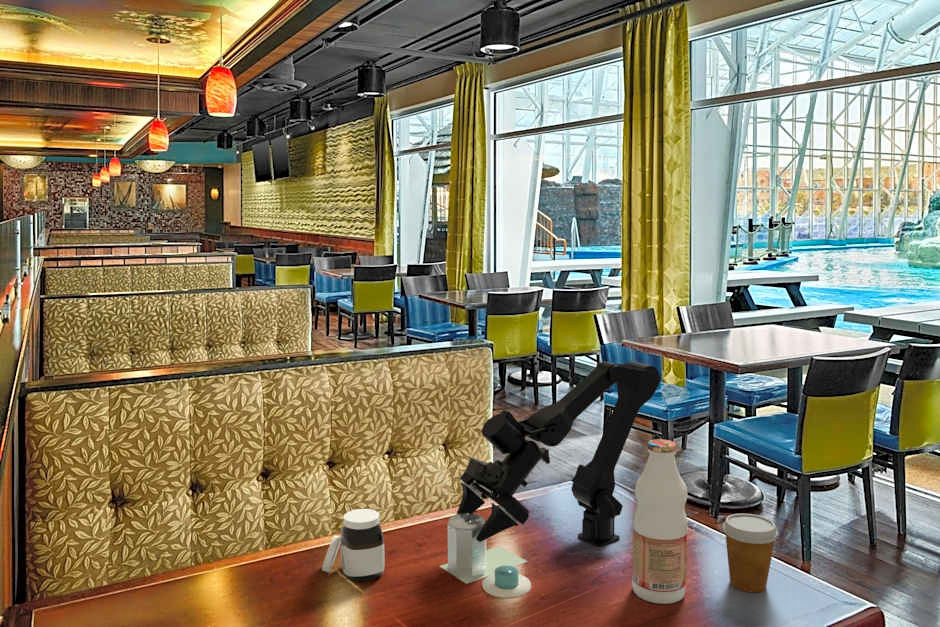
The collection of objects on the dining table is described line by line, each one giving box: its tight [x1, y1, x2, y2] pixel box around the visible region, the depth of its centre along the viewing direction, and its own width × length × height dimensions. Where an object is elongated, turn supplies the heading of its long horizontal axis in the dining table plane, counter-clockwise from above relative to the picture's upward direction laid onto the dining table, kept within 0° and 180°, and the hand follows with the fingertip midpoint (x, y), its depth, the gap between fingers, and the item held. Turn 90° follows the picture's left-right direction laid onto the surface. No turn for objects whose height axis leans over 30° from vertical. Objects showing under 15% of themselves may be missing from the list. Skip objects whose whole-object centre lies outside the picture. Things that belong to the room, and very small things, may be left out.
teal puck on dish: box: [481, 565, 532, 599], centre depth 139 cm, size 9×9×3 cm
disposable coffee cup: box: [722, 513, 779, 593], centre depth 139 cm, size 10×10×12 cm
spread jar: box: [321, 508, 386, 582], centre depth 145 cm, size 12×11×12 cm
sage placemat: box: [439, 545, 529, 585], centre depth 148 cm, size 15×9×1 cm, turn 127°
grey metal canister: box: [446, 512, 487, 579], centre depth 145 cm, size 7×7×11 cm
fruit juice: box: [631, 438, 688, 605], centre depth 135 cm, size 9×9×28 cm
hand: (466, 531), depth 145 cm, fingers open, 9 cm apart
